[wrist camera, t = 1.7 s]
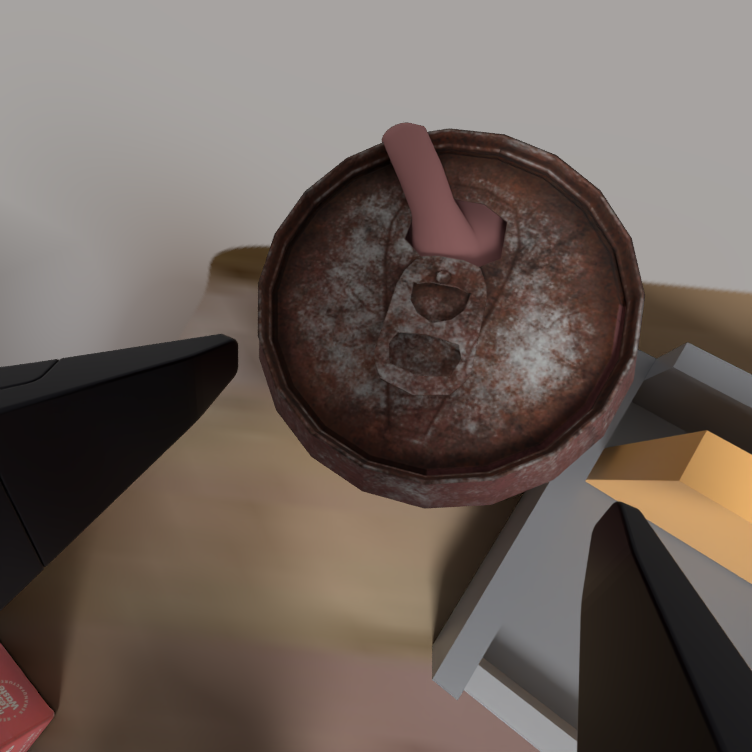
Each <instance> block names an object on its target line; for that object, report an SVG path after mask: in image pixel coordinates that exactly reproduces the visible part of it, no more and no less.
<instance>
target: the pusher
mask: <svg viewBox="0 0 752 752" xmlns="http://www.w3.org/2000/svg"><path fill="white" fill-rule="evenodd" d="M586 482H587V483H589V484H591V485H592V486H594V487H595V488H597V489H599V490H600V491H602V492H604V493H605V494H607V495H608V496H610V497H612V498H613V499H615V500H616V501H621V502H623V503H626V504H628V505H630V506H633V507H635V508H637V509H639V510H640V511H641V512H642V514H643V515H644V517H645V518H646V519H647V520H649V521H650V522H652V523H654V524H655V525H657V526H659V527H660V528H662V529H663V530H665V531H667V532H668V533H670V534H671V535H673V536H675V537H676V538H678V539H680V540H681V541H683V542H684V543H686V544H688V545H689V546H691V547H692V548H694V549H696V550H697V551H699V552H701V553H702V554H704V555H705V556H707V557H709V558H710V559H712V560H714V561H715V562H717V563H718V564H720V565H722V566H723V567H725V568H726V569H728V570H730V571H731V572H733V573H735V574H736V575H738V576H739V577H741V578H743V579H744V580H746V581H747V582H749V583H751V584H752V455H751V454H750V453H748V452H746V451H744V450H742V449H740V448H739V447H737V446H735V445H733V444H731V443H729V442H728V441H726V440H724V439H722V438H720V437H718V436H717V435H715V434H713V433H711V432H709V431H708V430H705V431H699V432H694V433H688V434H682V435H676V436H671V437H665V438H659V439H653V440H648V441H642V442H636V443H631V444H625V445H619V446H613V447H608V448H604V450H603V451H602V453H601V455H600V457H599V458H598V460H597V462H596V463H595V465H594V467H593V469H592V470H591V472H590V474H589V475H588V477H587V479H586Z"/></svg>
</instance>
